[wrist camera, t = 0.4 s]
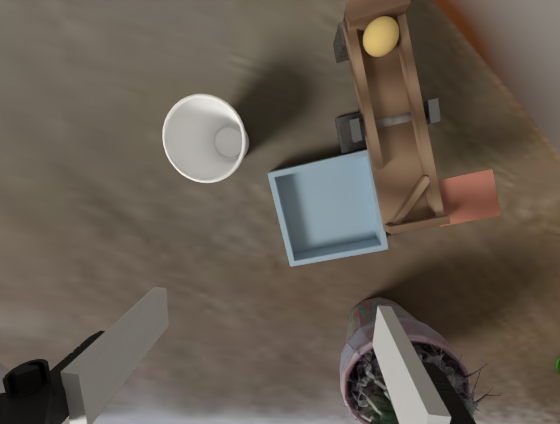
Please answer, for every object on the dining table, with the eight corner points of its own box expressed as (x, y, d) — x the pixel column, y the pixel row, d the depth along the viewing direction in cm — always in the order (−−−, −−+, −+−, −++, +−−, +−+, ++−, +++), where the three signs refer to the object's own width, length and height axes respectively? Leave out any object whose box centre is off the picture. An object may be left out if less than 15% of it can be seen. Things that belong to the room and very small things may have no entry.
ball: (357, 35, 29) (363, 13, 26) (390, 26, 29) (400, 2, 25) (363, 67, 29) (370, 49, 26) (396, 57, 29) (407, 38, 25)
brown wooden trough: (337, 28, 30) (341, 2, 26) (449, -6, 29) (472, -40, 24) (379, 234, 31) (389, 241, 27) (490, 214, 29) (519, 217, 25)
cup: (268, 118, 39) (255, 106, 29) (253, 181, 42) (235, 192, 31) (205, 100, 40) (169, 82, 29) (193, 165, 42) (156, 170, 31)
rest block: (333, 44, 36) (339, 22, 30) (380, 30, 35) (396, 5, 29) (336, 62, 37) (342, 45, 31) (383, 49, 36) (399, 28, 30)
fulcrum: (334, 119, 38) (345, 108, 28) (402, 101, 37) (438, 84, 27) (341, 153, 40) (353, 154, 29) (407, 137, 38) (443, 133, 28)
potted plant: (455, 347, 45) (629, 575, 21) (347, 377, 49) (388, 602, 24) (423, 256, 42) (584, 401, 18) (310, 295, 45) (315, 460, 21)
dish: (271, 170, 41) (267, 173, 37) (365, 148, 39) (372, 148, 35) (291, 256, 44) (290, 266, 40) (380, 240, 42) (388, 249, 38)
